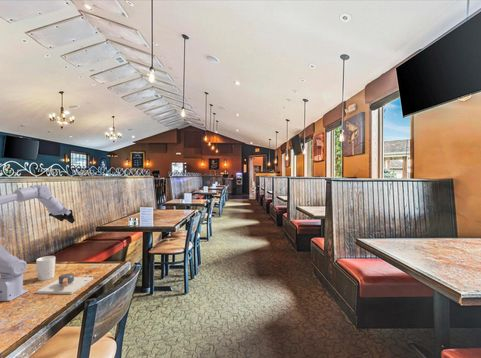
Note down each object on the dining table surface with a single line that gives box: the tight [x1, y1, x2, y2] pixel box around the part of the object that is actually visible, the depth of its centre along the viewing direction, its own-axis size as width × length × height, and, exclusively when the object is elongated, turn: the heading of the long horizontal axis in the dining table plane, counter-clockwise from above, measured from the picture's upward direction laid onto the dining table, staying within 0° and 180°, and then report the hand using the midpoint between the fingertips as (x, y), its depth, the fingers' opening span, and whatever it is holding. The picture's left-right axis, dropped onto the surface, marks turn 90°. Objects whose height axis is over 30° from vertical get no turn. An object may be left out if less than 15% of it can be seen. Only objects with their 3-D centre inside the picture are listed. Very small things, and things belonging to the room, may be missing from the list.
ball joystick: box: [58, 272, 75, 287], centre depth 121 cm, size 10×6×2 cm, turn 28°
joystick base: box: [35, 276, 94, 295], centre depth 123 cm, size 16×16×2 cm
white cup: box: [35, 255, 56, 281], centre depth 133 cm, size 8×8×10 cm
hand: (68, 220), depth 139 cm, fingers open, 7 cm apart
